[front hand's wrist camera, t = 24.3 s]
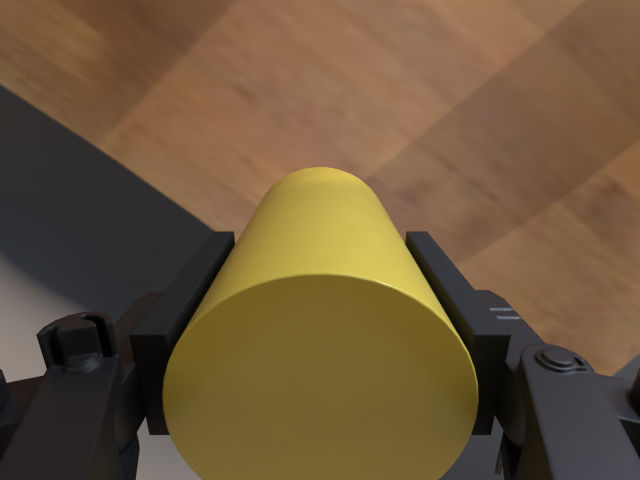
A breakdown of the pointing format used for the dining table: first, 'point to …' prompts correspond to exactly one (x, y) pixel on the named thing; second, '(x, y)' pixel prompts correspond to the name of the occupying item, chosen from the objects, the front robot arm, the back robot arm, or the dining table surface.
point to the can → (320, 350)
